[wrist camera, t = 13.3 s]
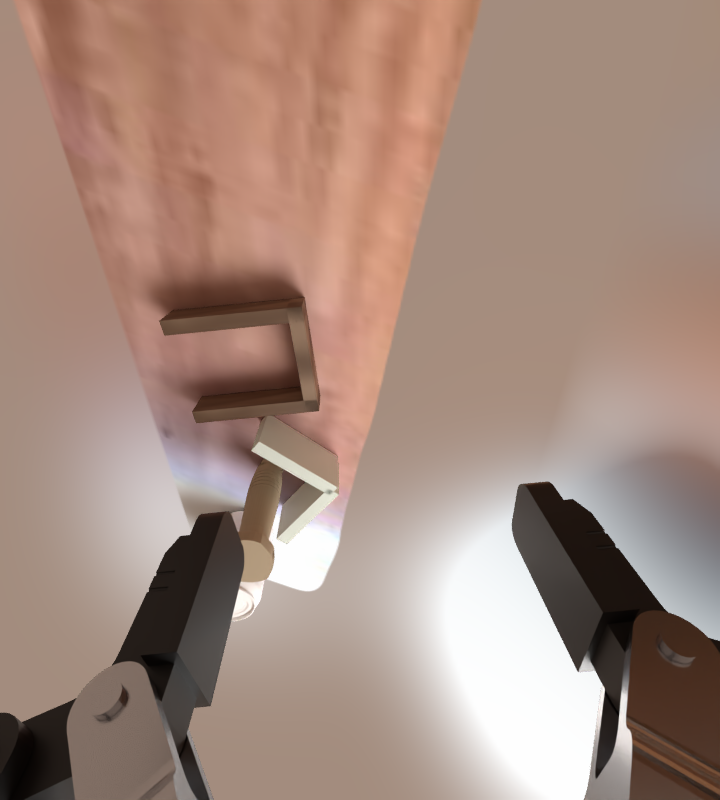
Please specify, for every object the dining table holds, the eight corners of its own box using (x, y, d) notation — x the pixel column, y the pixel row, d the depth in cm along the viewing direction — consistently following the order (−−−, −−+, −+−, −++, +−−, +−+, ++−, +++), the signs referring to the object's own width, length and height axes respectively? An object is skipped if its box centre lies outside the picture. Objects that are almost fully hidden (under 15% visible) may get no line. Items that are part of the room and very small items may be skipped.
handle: (256, 484, 53) (228, 583, 40) (249, 446, 49) (217, 541, 36) (291, 483, 53) (275, 581, 40) (286, 445, 50) (268, 539, 37)
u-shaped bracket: (172, 310, 40) (159, 321, 37) (304, 297, 40) (301, 306, 37) (205, 407, 46) (196, 423, 43) (320, 395, 46) (318, 411, 43)
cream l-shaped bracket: (258, 413, 47) (248, 442, 42) (330, 406, 47) (329, 434, 42) (284, 510, 55) (278, 544, 50) (345, 504, 55) (345, 538, 50)
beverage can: (252, 553, 60) (234, 631, 49) (207, 529, 57) (177, 607, 46) (284, 525, 57) (272, 602, 47) (239, 499, 54) (215, 575, 44)
